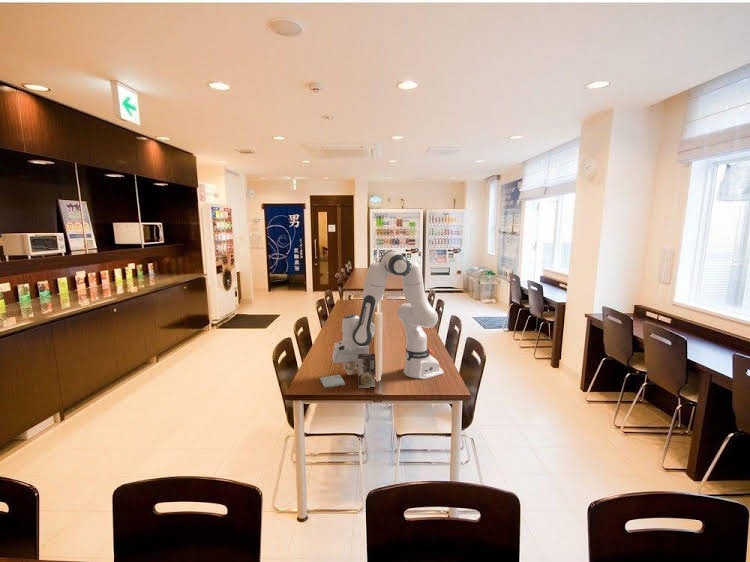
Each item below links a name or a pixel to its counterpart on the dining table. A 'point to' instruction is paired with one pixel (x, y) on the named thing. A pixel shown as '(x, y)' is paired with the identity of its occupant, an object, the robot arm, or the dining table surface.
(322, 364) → the dining table surface
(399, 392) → the dining table surface
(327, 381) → the tile
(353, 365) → the ash block
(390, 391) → the dining table surface
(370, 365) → the coffee box
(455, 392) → the dining table surface
